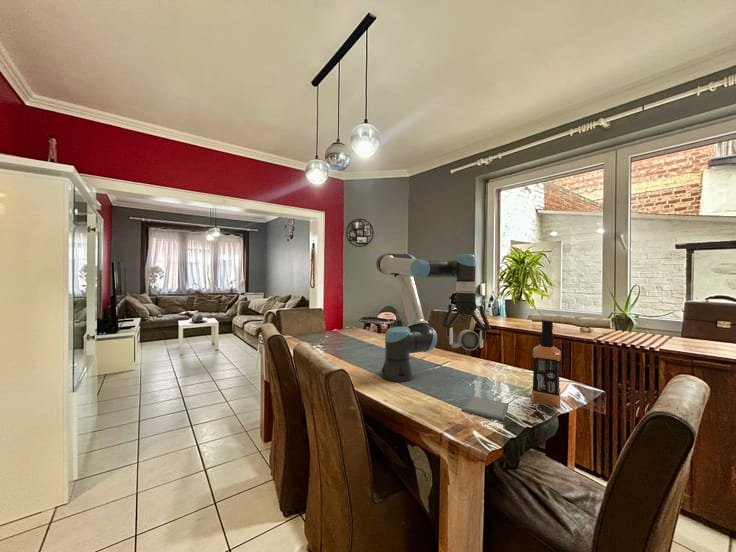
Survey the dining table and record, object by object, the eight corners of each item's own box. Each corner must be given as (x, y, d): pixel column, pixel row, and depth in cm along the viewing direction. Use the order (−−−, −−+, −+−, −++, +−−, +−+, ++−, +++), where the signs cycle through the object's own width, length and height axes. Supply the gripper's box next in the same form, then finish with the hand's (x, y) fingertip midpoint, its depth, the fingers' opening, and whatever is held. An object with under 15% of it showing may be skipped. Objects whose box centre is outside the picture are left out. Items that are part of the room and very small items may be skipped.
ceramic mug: (475, 346, 128) (474, 327, 128) (480, 350, 120) (479, 331, 120) (449, 346, 129) (449, 328, 129) (452, 350, 121) (452, 331, 121)
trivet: (462, 410, 111) (462, 408, 111) (470, 397, 123) (470, 395, 123) (503, 421, 104) (503, 418, 104) (508, 405, 116) (508, 403, 116)
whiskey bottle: (560, 407, 115) (562, 323, 114) (530, 401, 120) (532, 320, 119) (560, 398, 124) (561, 319, 123) (532, 392, 129) (534, 317, 128)
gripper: (434, 291, 127) (434, 343, 127) (495, 293, 115) (495, 351, 115) (440, 291, 134) (440, 340, 134) (498, 292, 122) (498, 347, 121)
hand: (465, 345), depth 124 cm, fingers closed on ceramic mug, 11 cm apart
